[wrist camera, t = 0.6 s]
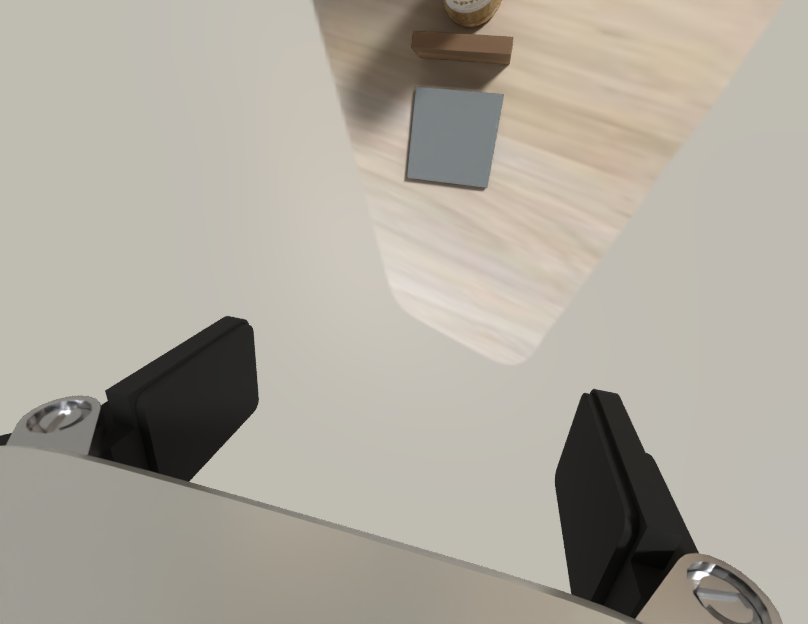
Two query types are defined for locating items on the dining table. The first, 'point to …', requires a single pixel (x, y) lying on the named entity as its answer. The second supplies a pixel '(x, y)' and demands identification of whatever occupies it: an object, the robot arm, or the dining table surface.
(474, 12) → the sprinkles bottle
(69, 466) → the robot arm
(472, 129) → the slate coaster
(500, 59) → the walnut rack
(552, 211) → the dining table surface
